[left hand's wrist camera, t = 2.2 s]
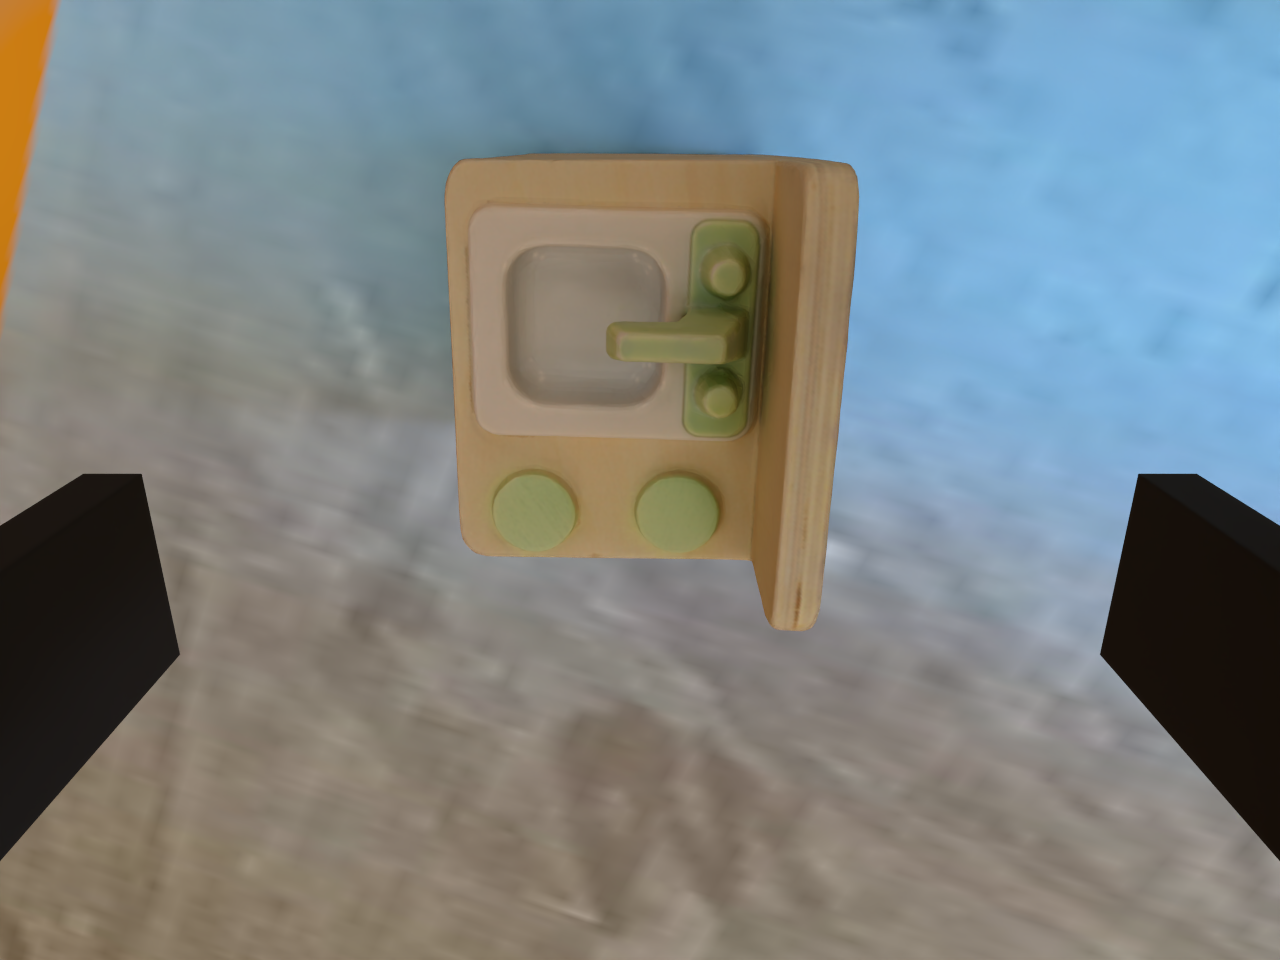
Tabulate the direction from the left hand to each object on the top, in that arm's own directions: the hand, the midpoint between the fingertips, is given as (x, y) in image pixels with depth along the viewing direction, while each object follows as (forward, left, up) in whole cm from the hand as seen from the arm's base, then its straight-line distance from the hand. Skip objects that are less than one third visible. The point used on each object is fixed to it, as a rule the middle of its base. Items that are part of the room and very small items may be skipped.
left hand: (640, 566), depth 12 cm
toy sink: (0, -1, -16) cm, 17 cm away
